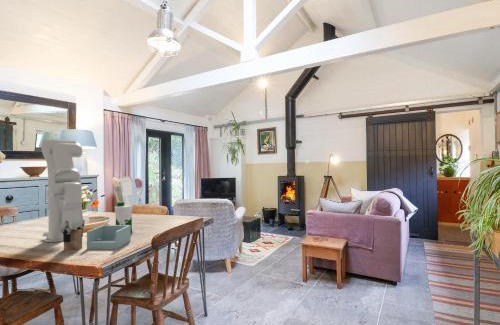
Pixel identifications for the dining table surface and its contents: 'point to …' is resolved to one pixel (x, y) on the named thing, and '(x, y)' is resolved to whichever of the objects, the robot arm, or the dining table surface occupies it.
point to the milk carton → (123, 214)
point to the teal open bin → (108, 236)
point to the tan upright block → (74, 240)
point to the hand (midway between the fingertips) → (73, 239)
